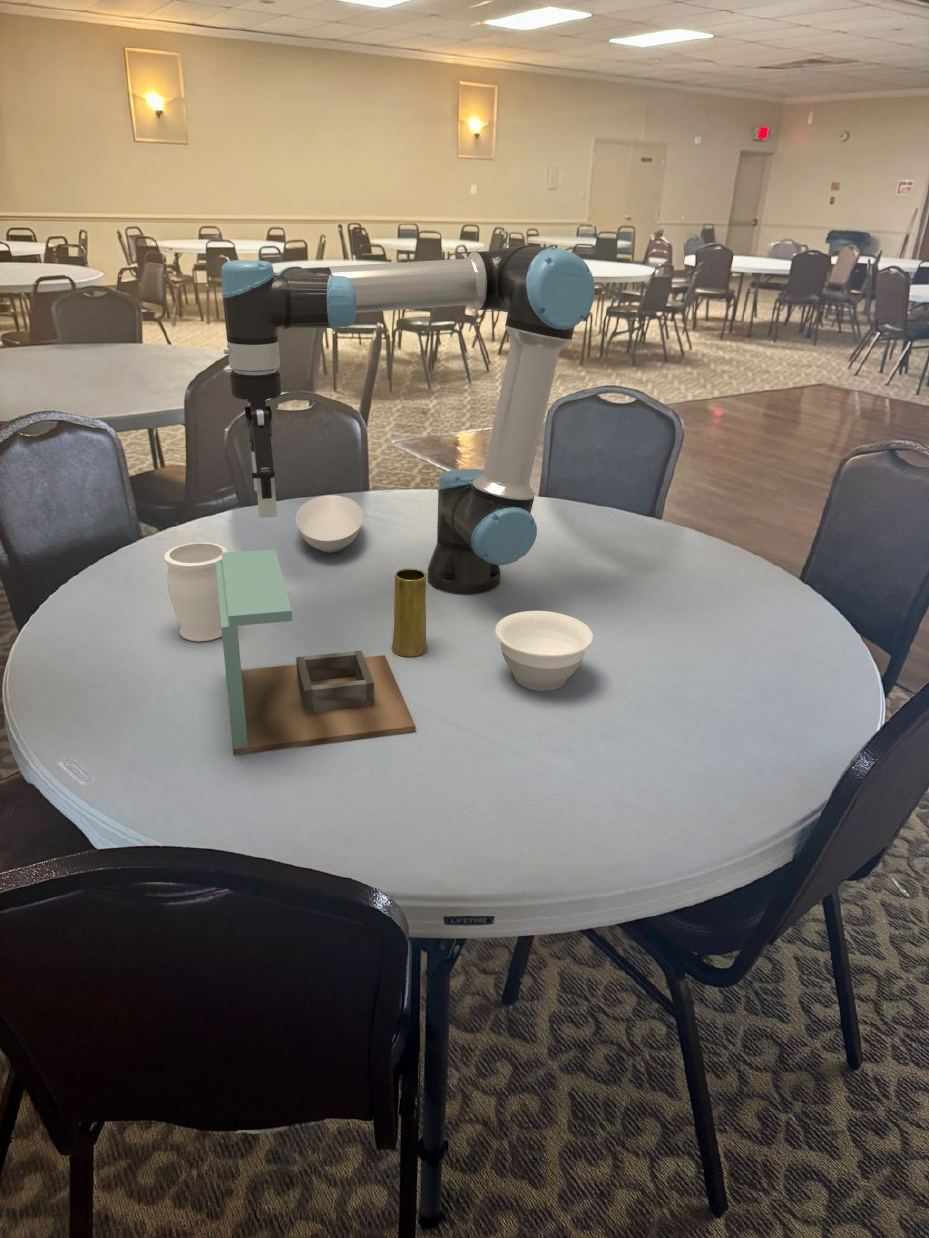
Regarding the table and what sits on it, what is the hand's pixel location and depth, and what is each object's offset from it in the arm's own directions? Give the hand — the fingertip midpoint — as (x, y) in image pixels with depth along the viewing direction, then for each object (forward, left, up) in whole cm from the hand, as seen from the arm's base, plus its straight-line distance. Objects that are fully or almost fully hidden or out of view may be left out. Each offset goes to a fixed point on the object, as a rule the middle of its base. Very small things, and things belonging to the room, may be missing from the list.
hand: (265, 502), depth 138 cm
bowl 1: (-17, -44, -25) cm, 53 cm away
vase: (-22, +10, -25) cm, 35 cm away
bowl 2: (-41, +24, -25) cm, 54 cm away
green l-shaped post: (+4, +24, -24) cm, 34 cm away
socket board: (-4, +24, -25) cm, 35 cm away
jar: (+12, -4, -25) cm, 28 cm away
